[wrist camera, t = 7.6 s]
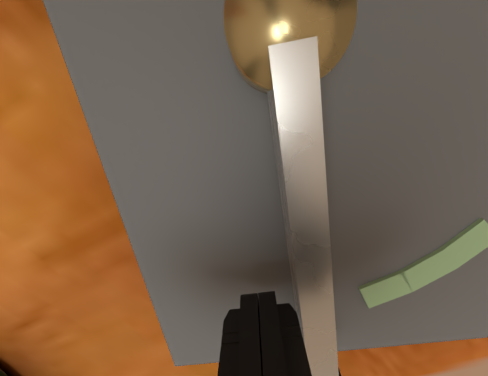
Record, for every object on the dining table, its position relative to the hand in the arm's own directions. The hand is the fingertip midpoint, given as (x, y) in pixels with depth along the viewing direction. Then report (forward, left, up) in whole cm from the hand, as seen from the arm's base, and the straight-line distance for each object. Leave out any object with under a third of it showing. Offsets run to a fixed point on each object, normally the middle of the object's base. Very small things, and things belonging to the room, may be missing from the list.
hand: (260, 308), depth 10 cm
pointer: (-3, +2, -2) cm, 4 cm away
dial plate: (-5, +4, -4) cm, 7 cm away
